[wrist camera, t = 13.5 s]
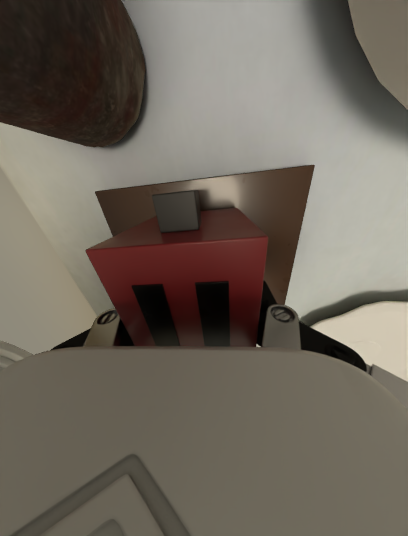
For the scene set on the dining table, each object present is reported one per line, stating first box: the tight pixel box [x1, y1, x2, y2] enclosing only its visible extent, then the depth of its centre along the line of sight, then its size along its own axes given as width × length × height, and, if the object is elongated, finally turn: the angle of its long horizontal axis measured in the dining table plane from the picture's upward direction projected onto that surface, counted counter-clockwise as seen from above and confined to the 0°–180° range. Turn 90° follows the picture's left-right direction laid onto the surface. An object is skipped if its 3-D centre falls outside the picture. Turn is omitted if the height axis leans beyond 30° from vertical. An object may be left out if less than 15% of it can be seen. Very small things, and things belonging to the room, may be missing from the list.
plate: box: [310, 301, 408, 382], centre depth 19 cm, size 21×21×2 cm
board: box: [95, 165, 315, 305], centre depth 14 cm, size 16×14×1 cm
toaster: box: [86, 190, 268, 347], centre depth 10 cm, size 6×11×7 cm, turn 6°
